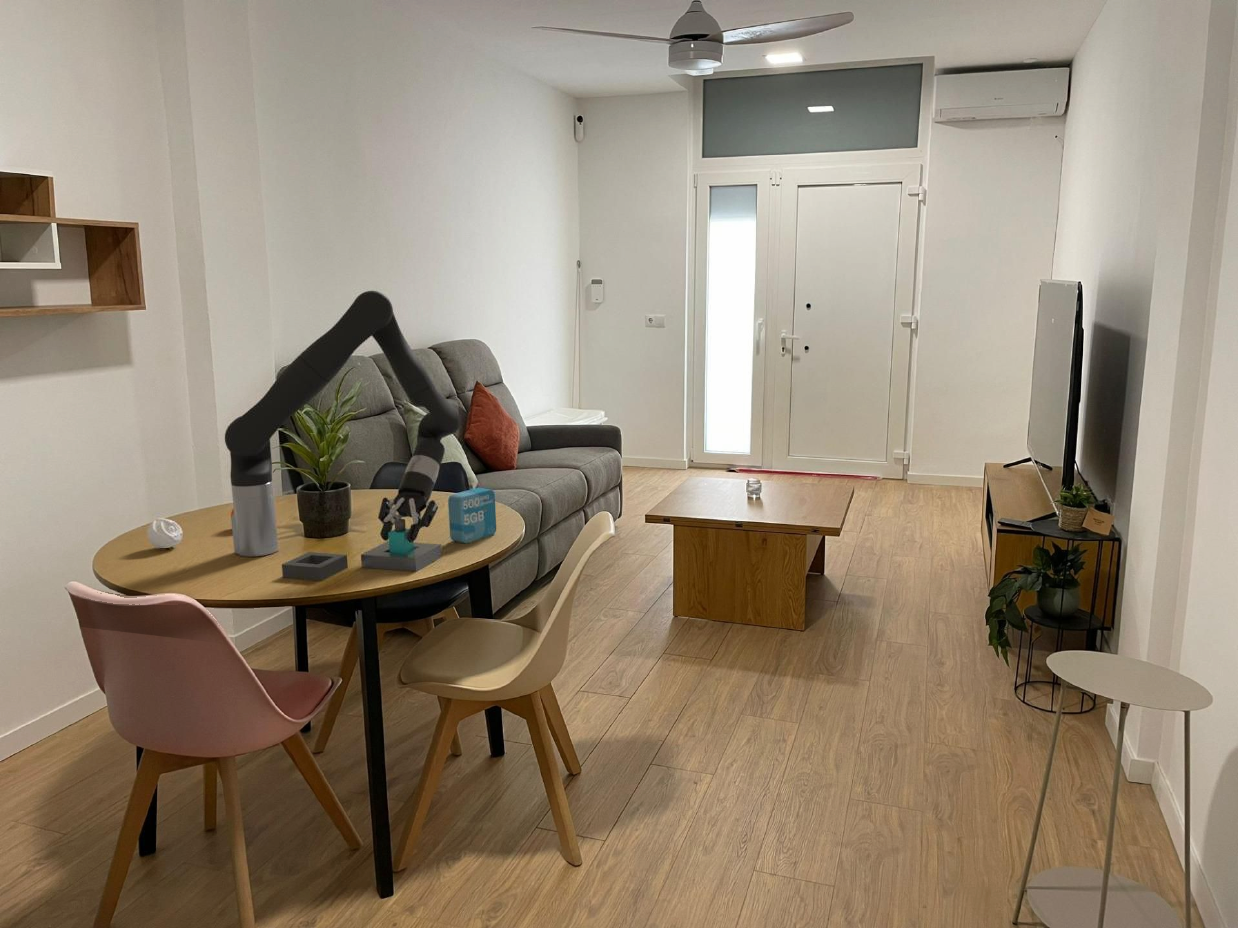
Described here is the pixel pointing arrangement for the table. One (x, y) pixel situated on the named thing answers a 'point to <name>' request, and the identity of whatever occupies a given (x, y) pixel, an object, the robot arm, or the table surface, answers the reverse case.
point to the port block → (401, 557)
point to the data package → (472, 515)
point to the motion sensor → (164, 533)
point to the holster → (314, 566)
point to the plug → (400, 538)
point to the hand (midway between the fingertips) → (396, 539)
